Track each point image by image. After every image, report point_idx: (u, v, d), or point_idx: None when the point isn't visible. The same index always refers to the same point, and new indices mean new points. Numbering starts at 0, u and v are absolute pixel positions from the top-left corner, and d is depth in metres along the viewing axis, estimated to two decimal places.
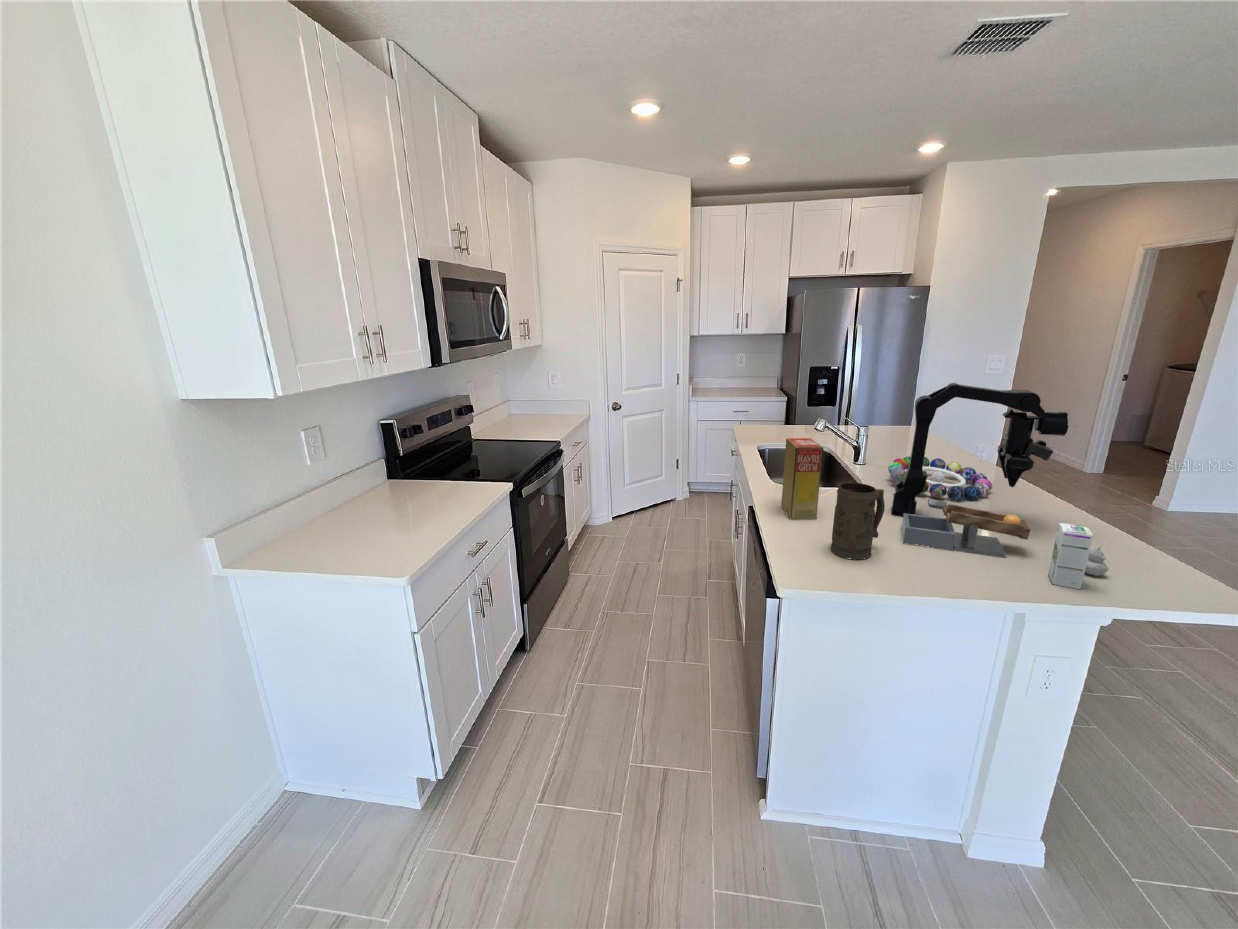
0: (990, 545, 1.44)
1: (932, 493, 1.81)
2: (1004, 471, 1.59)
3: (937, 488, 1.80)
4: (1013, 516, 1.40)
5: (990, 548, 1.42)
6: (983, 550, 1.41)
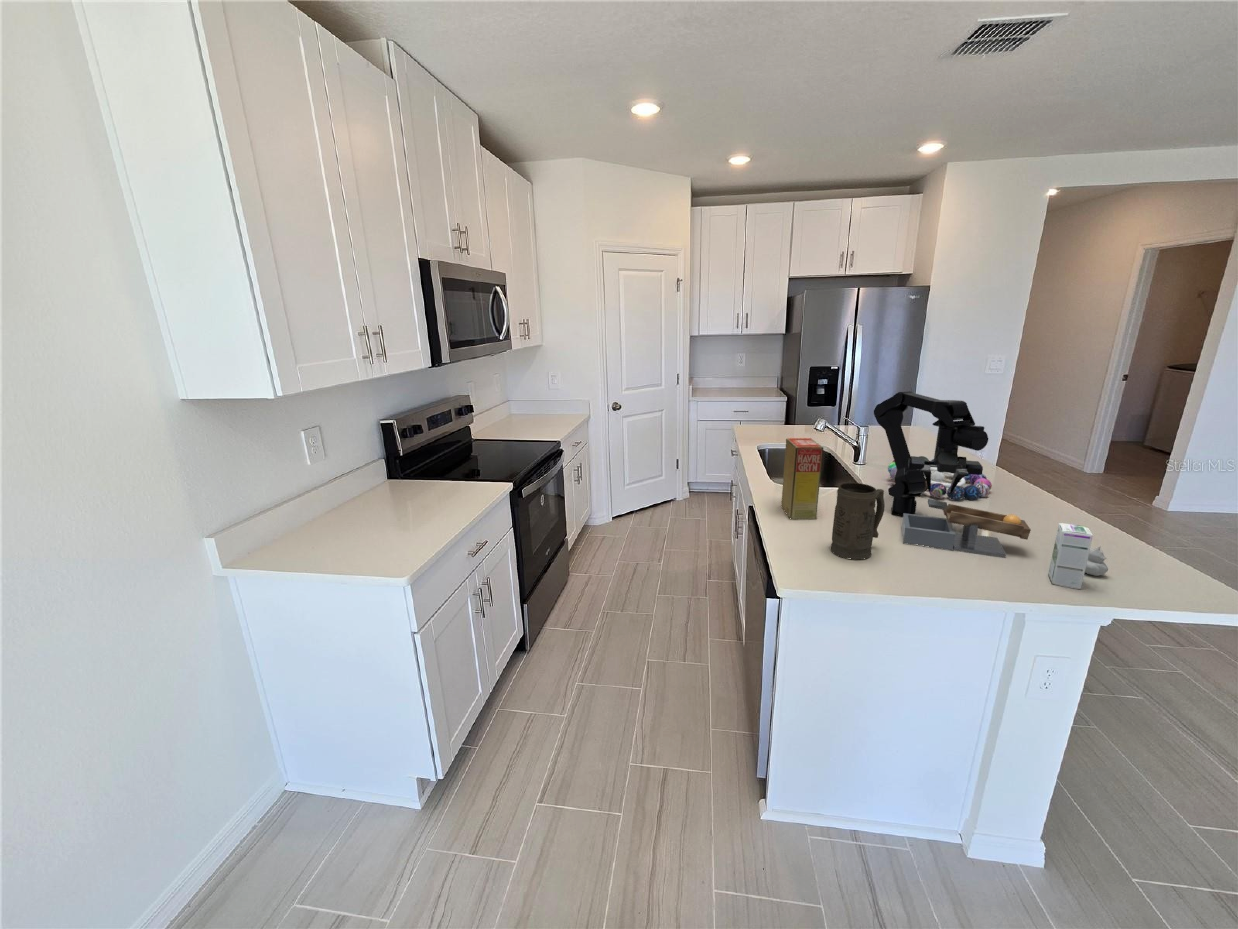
0: (990, 545, 1.44)
1: (932, 493, 1.82)
2: (951, 485, 1.55)
3: (937, 488, 1.81)
4: (1013, 516, 1.40)
5: (990, 548, 1.42)
6: (983, 550, 1.41)
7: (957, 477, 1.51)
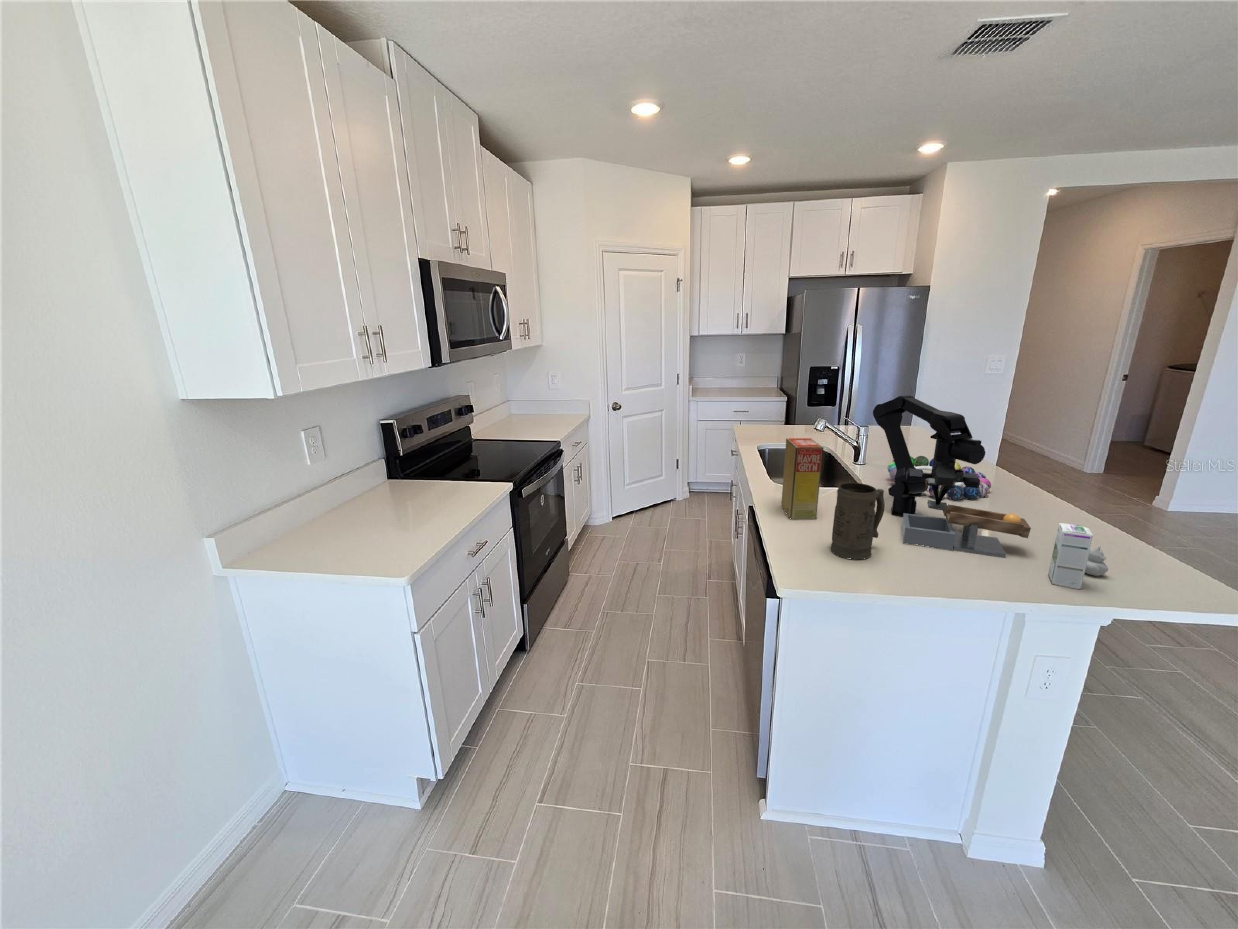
0: (990, 545, 1.44)
1: (932, 492, 1.82)
2: (938, 496, 1.57)
3: None
4: (1013, 515, 1.40)
5: (990, 548, 1.42)
6: (983, 550, 1.41)
7: (944, 489, 1.53)
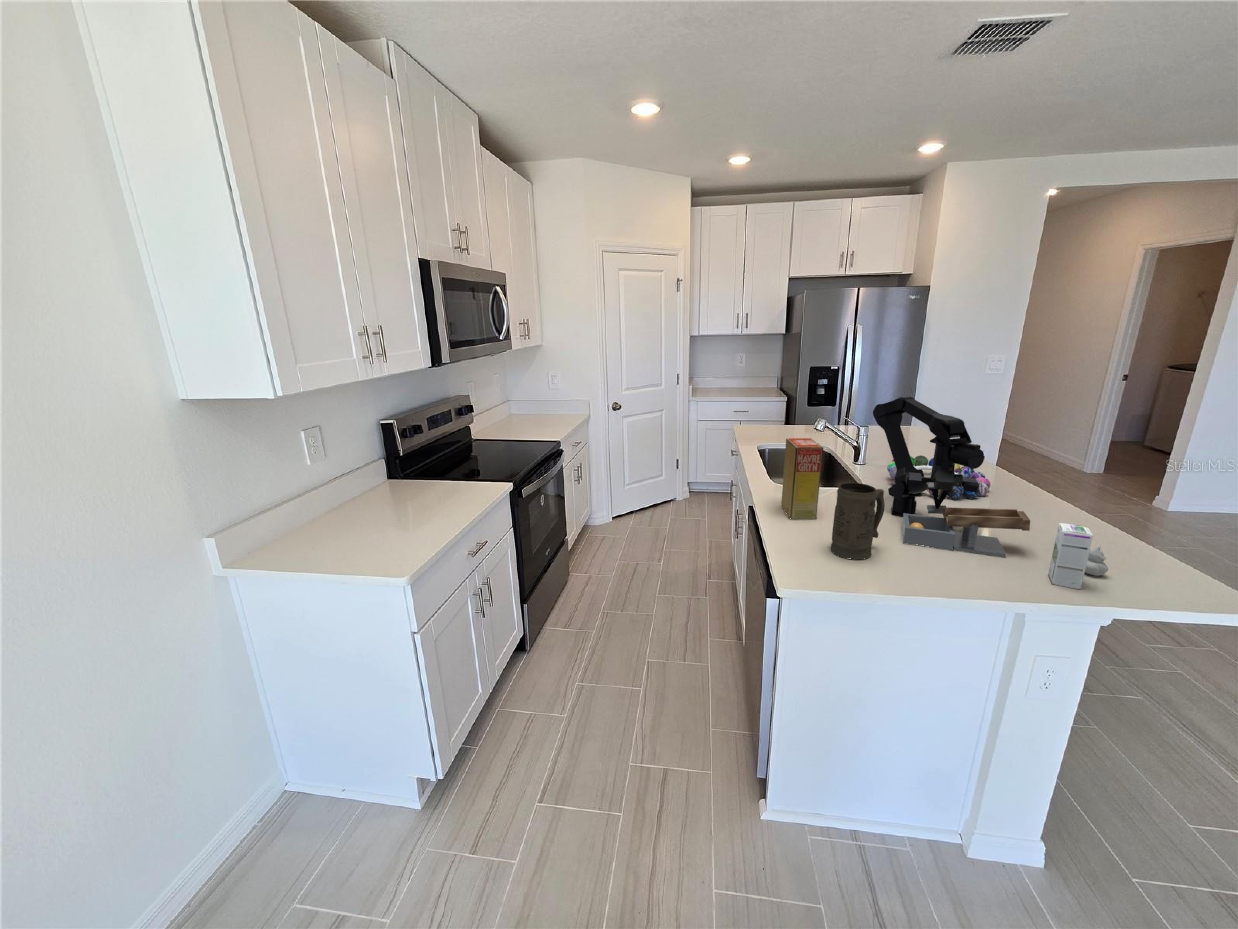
0: (990, 545, 1.44)
1: (931, 492, 1.83)
2: None
3: None
4: (923, 527, 1.50)
5: (990, 548, 1.42)
6: (983, 550, 1.41)
7: (943, 493, 1.53)
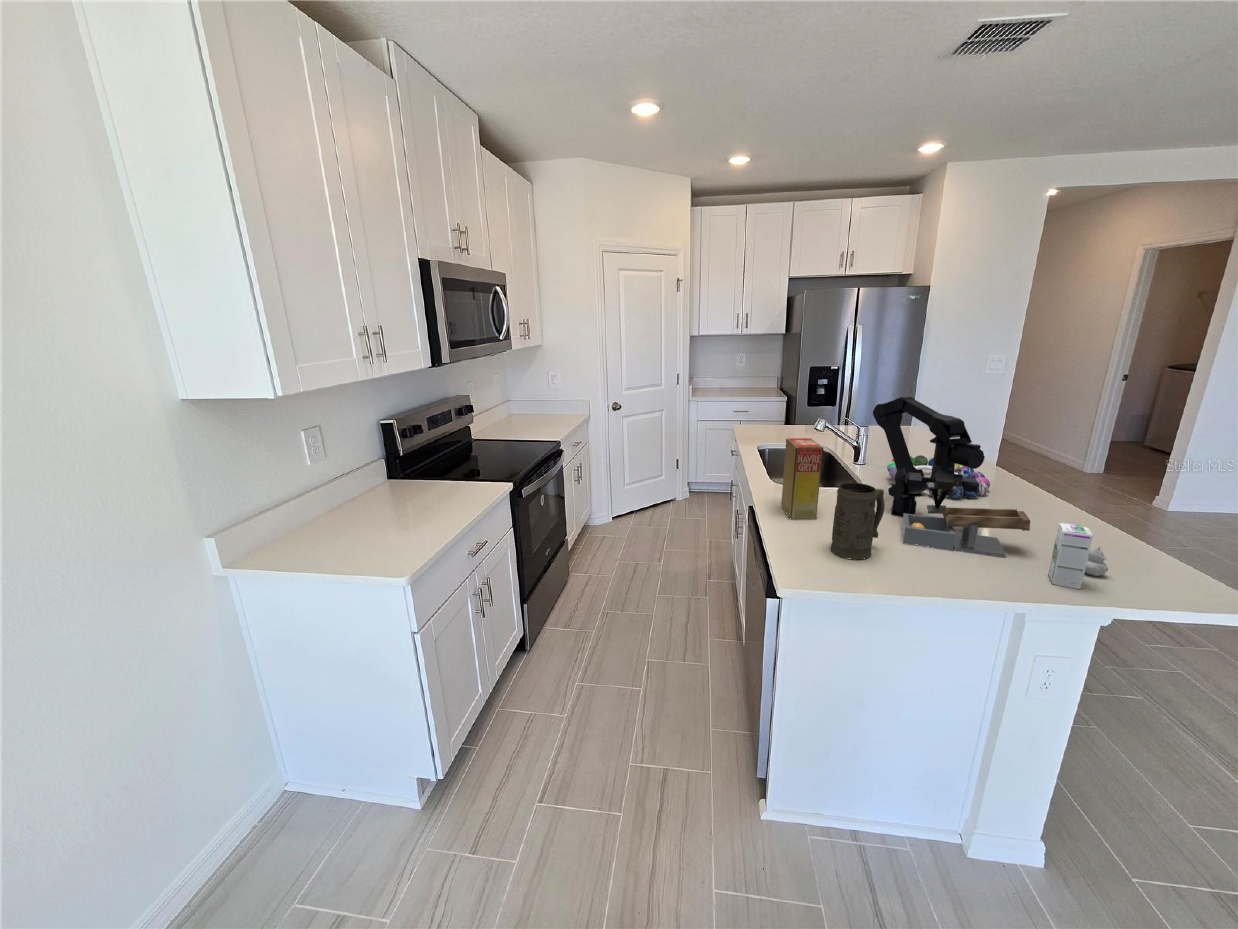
0: (990, 545, 1.44)
1: (931, 492, 1.83)
2: None
3: None
4: (924, 528, 1.50)
5: (990, 548, 1.42)
6: (983, 550, 1.41)
7: (943, 493, 1.53)
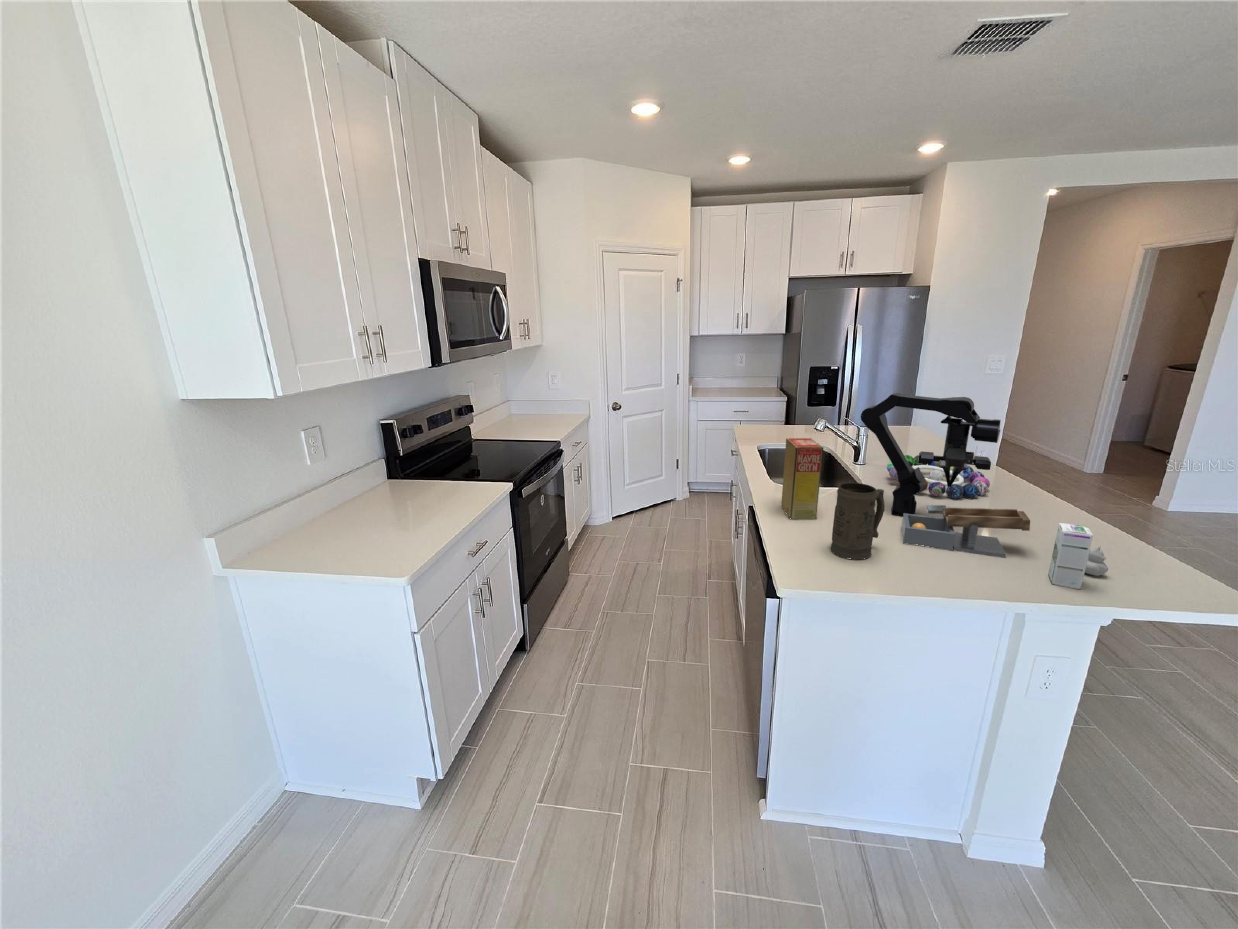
0: (990, 545, 1.44)
1: (931, 491, 1.83)
2: (950, 479, 1.60)
3: (936, 487, 1.82)
4: None
5: (990, 548, 1.42)
6: (983, 550, 1.41)
7: (955, 471, 1.56)
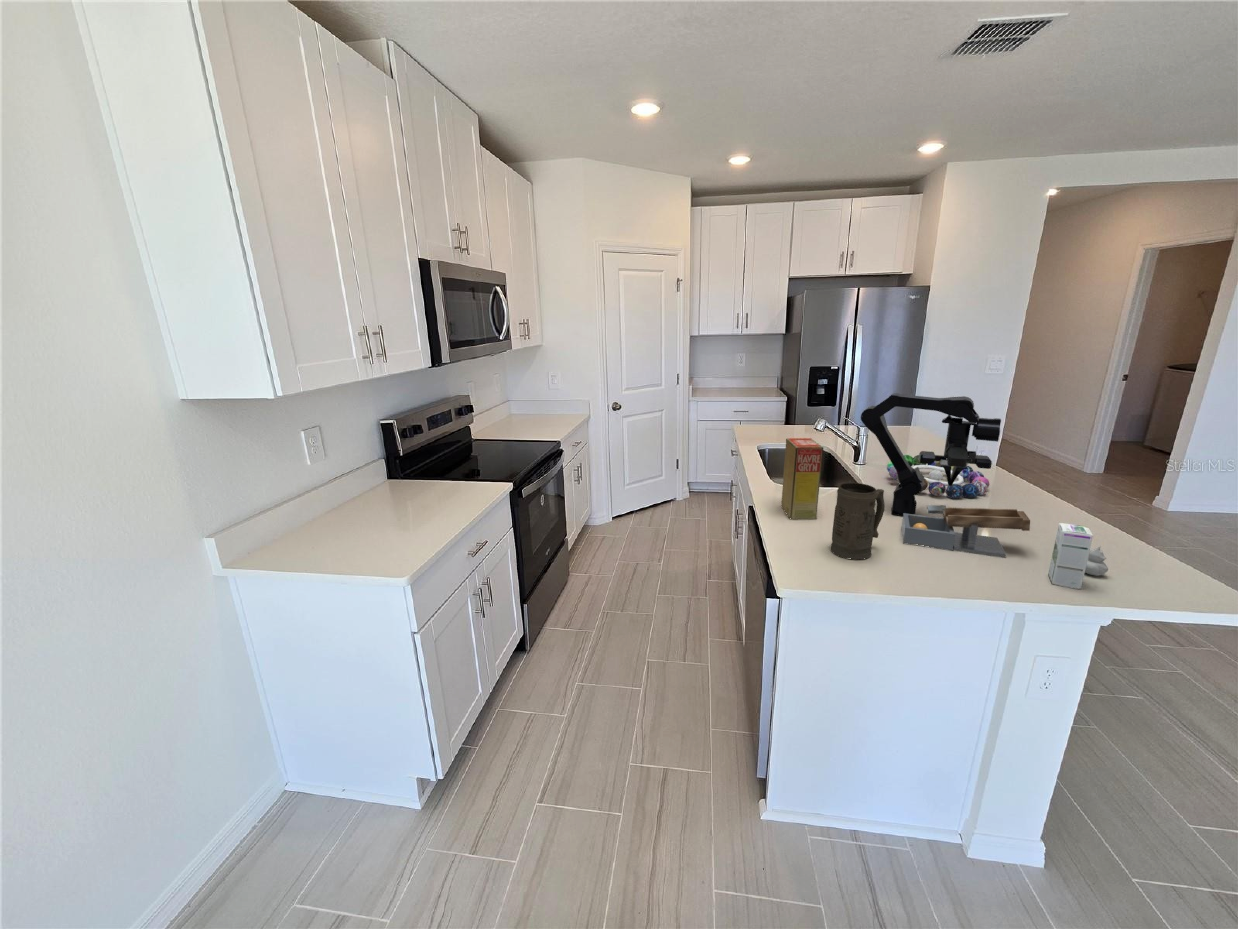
0: (990, 545, 1.44)
1: (931, 491, 1.84)
2: None
3: (936, 487, 1.82)
4: None
5: (990, 548, 1.42)
6: (983, 550, 1.41)
7: (956, 470, 1.57)
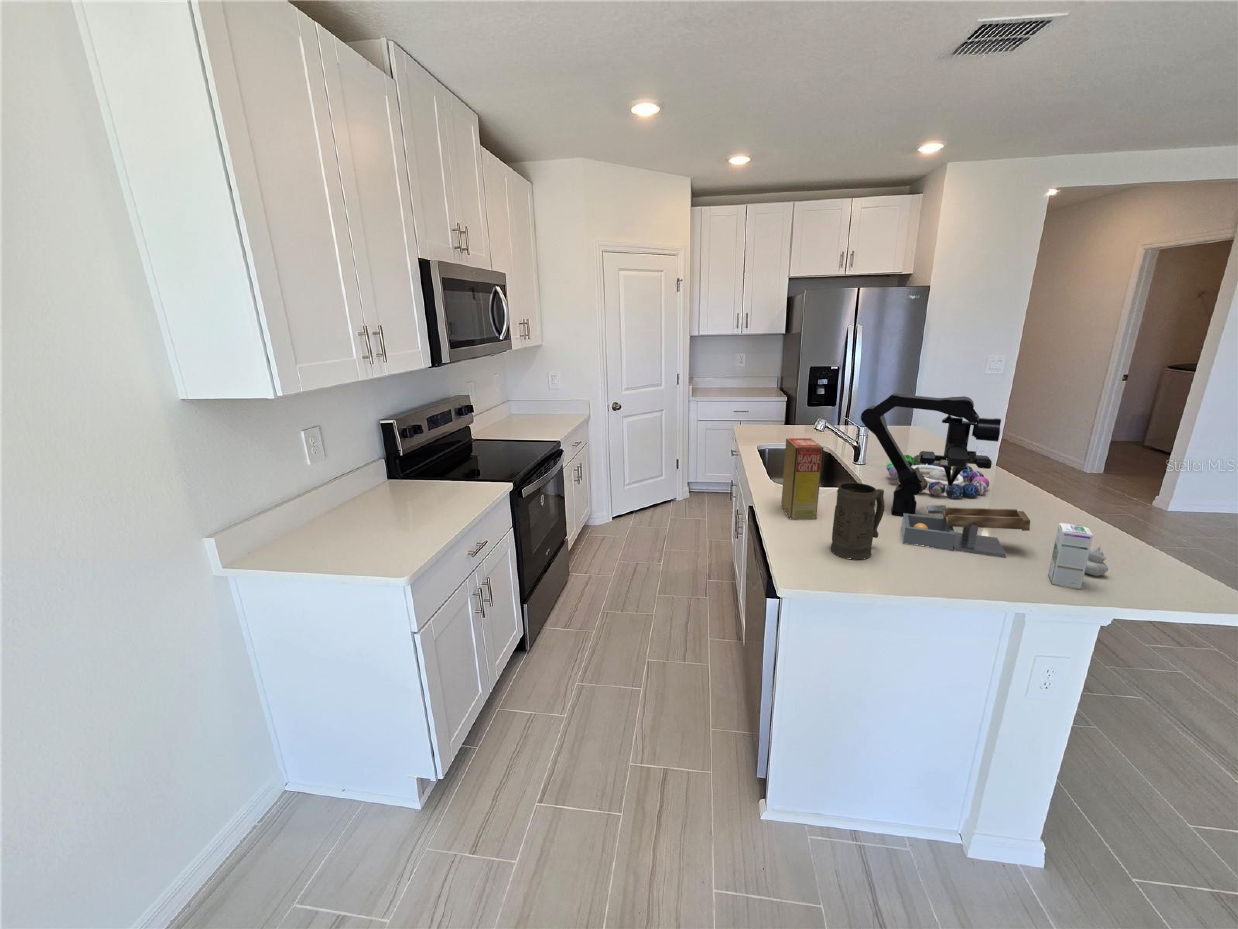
0: (990, 545, 1.44)
1: (931, 491, 1.84)
2: None
3: (936, 486, 1.82)
4: None
5: (990, 548, 1.42)
6: (983, 550, 1.41)
7: (956, 470, 1.57)
